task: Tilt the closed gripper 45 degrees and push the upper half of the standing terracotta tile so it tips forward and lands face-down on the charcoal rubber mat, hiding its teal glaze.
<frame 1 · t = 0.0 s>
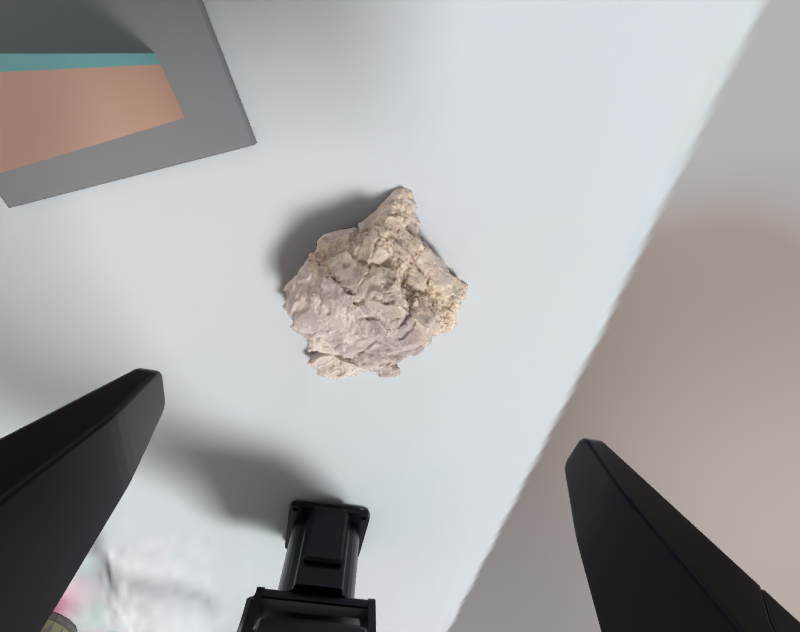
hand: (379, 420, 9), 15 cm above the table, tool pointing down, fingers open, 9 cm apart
rock: (376, 291, 25), on the table
tile: (88, 110, 19), point 1 cm above the table, touching mat
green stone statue: (36, 622, 46), on the table
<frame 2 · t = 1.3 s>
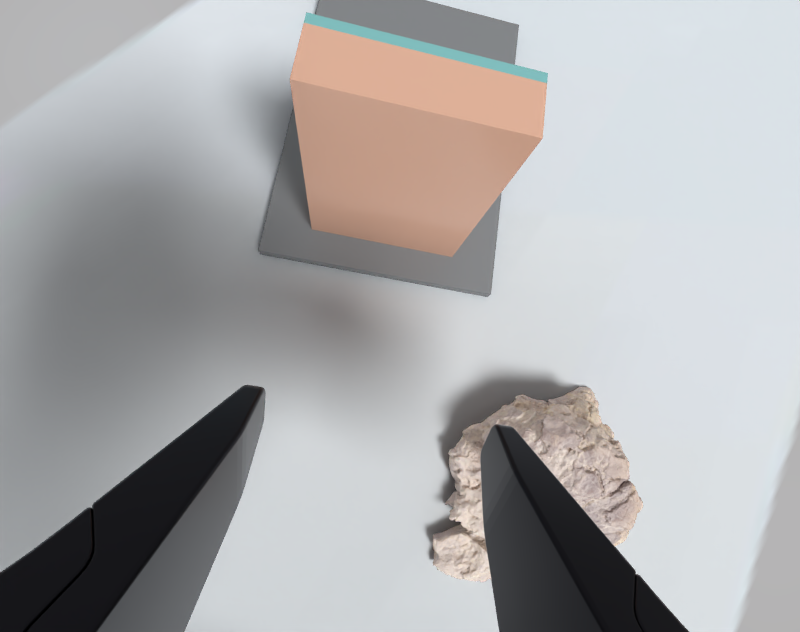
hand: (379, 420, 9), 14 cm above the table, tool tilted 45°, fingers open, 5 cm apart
mat: (401, 131, 26), on the table
rock: (527, 481, 23), on the table
tile: (386, 223, 24), point 1 cm above the table, touching mat
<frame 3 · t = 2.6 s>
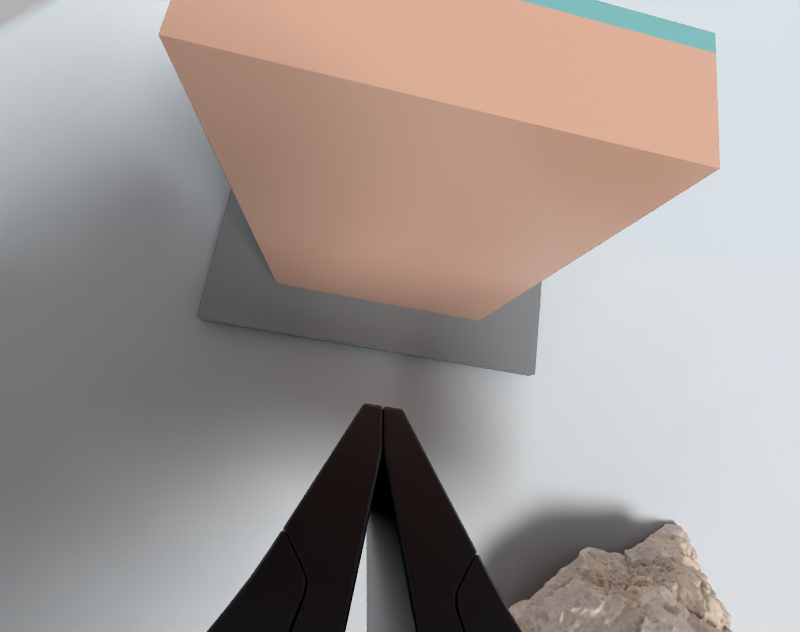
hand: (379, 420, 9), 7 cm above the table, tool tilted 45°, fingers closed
mat: (406, 140, 19), on the table
tile: (385, 272, 17), point 1 cm above the table, touching mat
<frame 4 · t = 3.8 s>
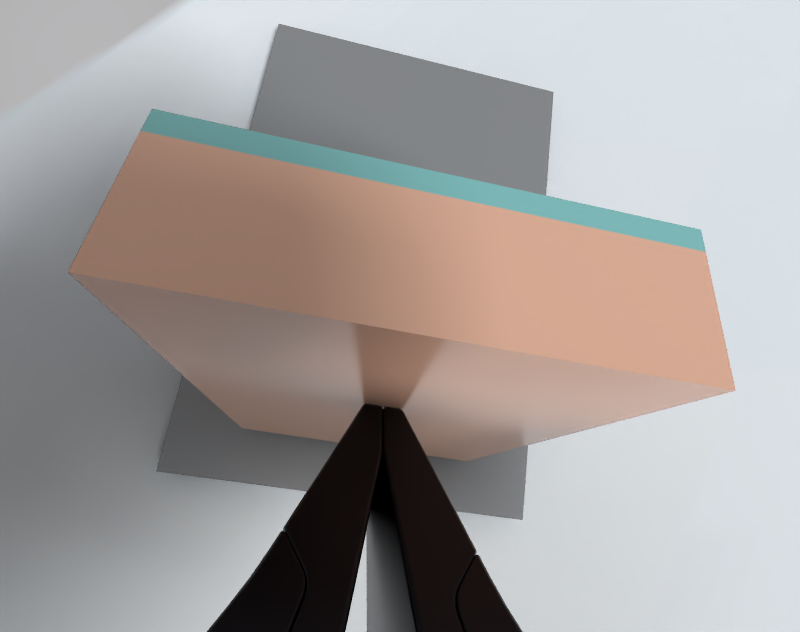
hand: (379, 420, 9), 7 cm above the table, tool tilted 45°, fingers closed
mat: (387, 254, 18), on the table
tile: (362, 409, 15), point 1 cm above the table, tilted 11°, touching mat
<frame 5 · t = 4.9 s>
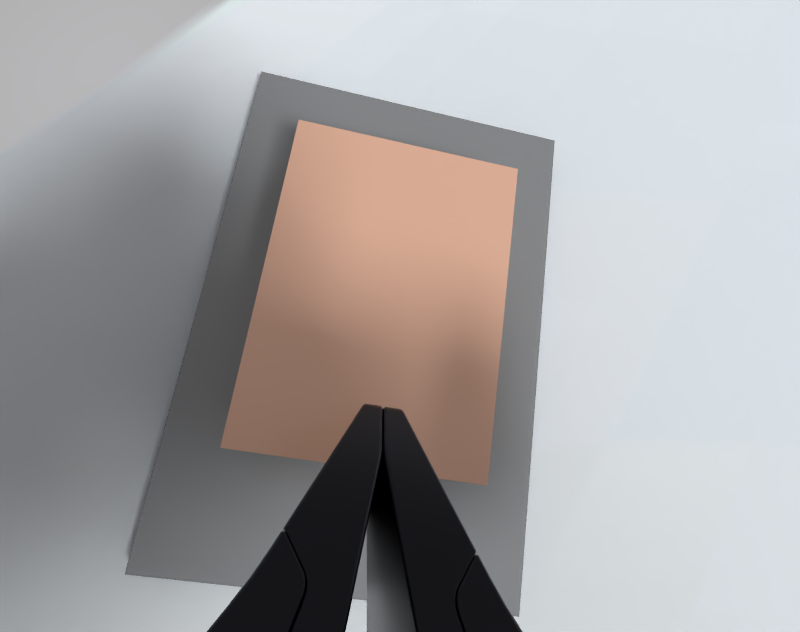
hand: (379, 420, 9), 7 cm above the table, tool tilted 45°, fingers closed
mat: (376, 321, 17), on the table
tile: (356, 462, 14), point 2 cm above the table, tilted 90°, touching mat
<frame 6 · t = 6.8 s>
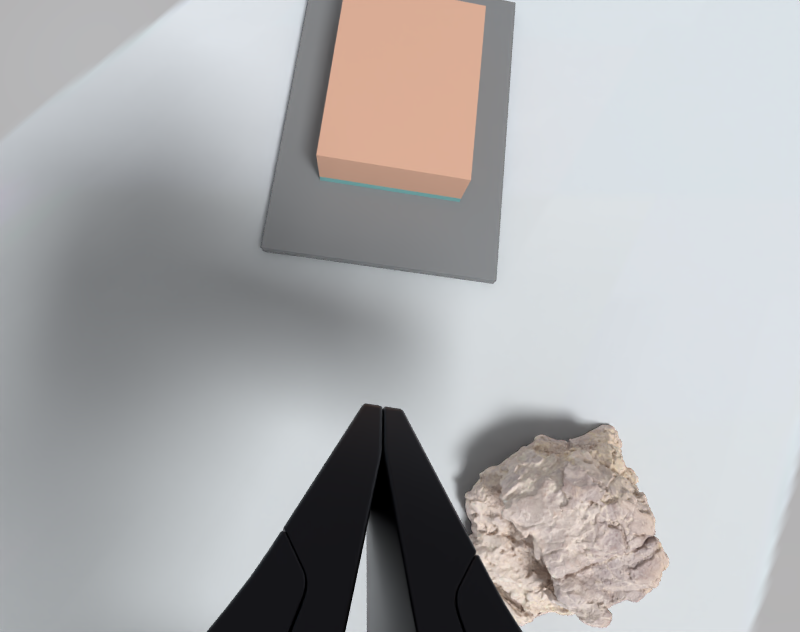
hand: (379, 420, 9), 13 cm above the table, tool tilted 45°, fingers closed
mat: (399, 119, 26), on the table
rock: (546, 522, 23), on the table
tile: (392, 180, 23), point 2 cm above the table, tilted 90°, touching mat
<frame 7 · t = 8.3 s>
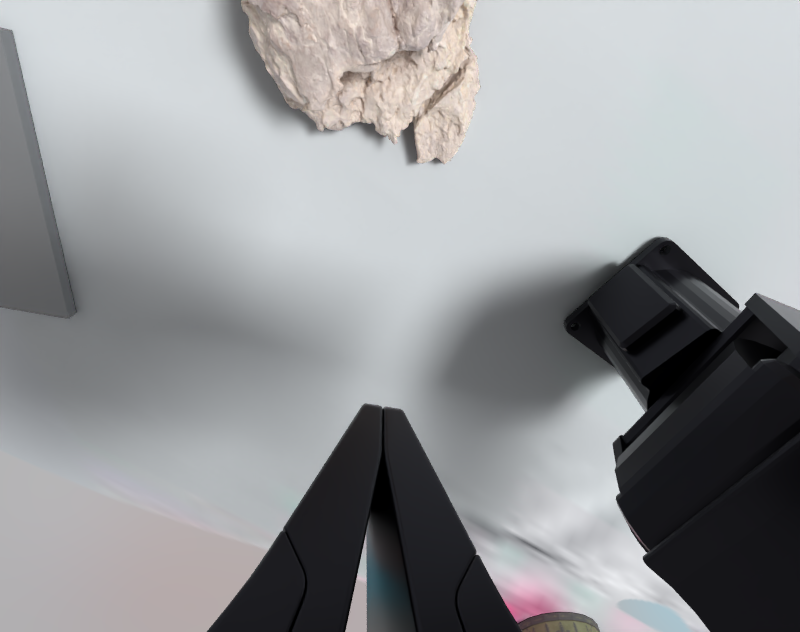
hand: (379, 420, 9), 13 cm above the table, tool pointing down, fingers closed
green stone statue: (554, 630, 43), on the table
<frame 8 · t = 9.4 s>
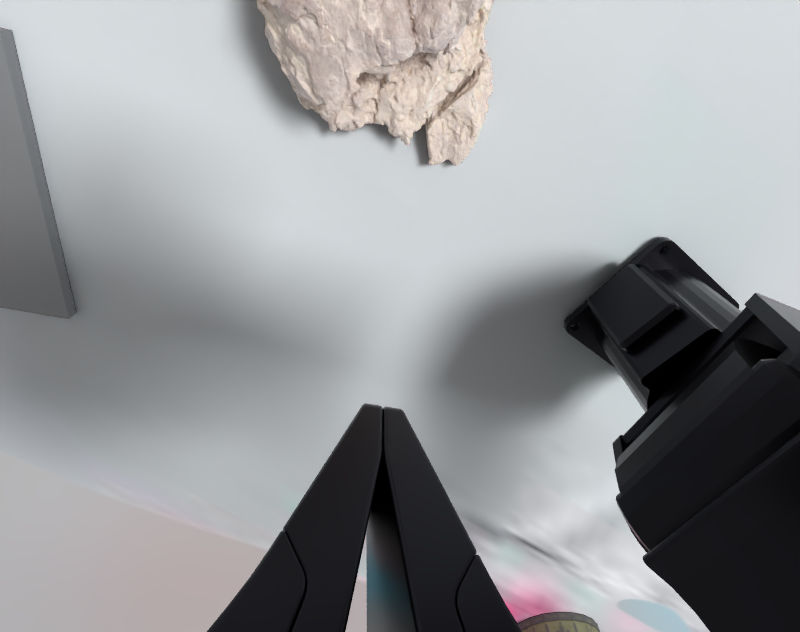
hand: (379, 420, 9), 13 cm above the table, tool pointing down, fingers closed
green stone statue: (554, 630, 43), on the table
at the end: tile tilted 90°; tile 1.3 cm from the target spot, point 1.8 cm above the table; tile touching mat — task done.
